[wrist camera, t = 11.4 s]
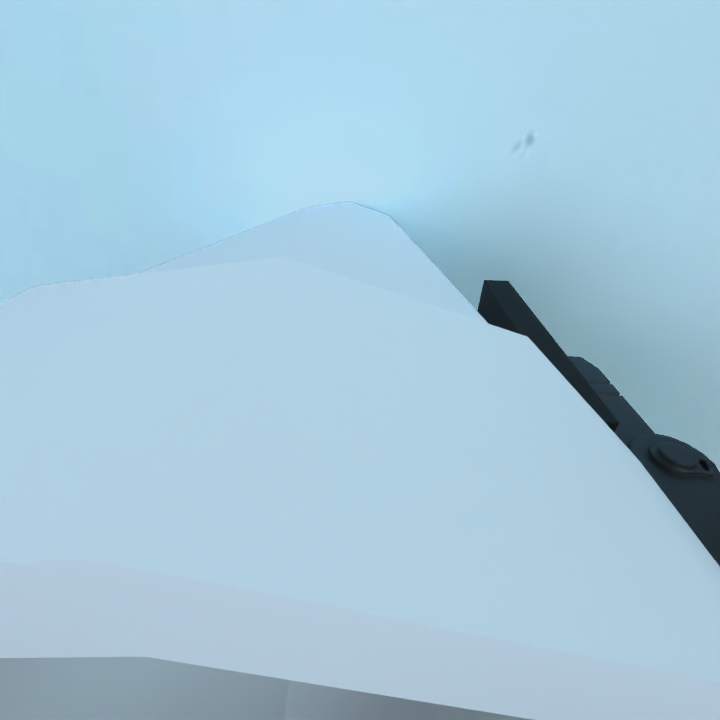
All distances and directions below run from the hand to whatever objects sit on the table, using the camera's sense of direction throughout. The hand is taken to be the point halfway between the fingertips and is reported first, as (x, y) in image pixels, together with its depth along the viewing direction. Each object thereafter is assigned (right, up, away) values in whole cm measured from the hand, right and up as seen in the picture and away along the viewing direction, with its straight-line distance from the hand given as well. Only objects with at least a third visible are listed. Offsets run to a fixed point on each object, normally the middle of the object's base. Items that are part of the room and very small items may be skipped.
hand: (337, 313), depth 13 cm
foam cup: (0, +1, +2) cm, 2 cm away
